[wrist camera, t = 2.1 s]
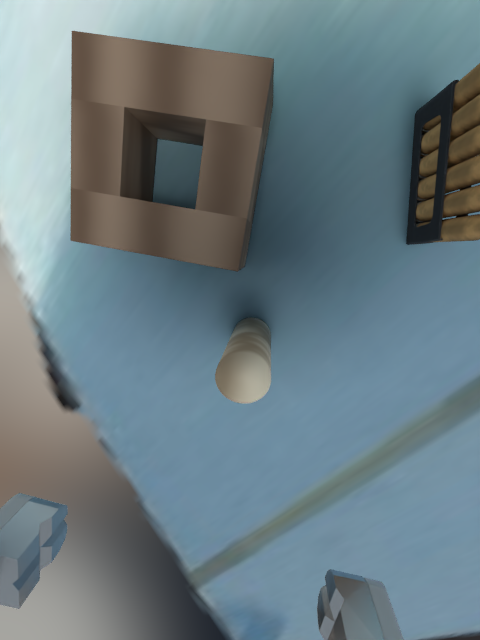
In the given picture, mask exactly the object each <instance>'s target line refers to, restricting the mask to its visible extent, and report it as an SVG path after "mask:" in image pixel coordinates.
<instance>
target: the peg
mask: <svg viewBox="0 0 480 640" xmlns="http://www.w3.org/2000/svg"><path fill="white" fill-rule="evenodd" d="M215 380H216V384H217V387H218V389H219V390H220V392H221V393H222V394H223V395H224V396H225V397H226V398H228V399H230V400H231V401H234V402H237V403H252V402H255V401H257V400H259V399H261V398H262V397H263V396H264V395H265V394H266V393H267V391H268V389H269V387H270V384H271V333H270V329H269V327H268V326H267V324H266V323H265V322H264V321H262V320H260V319H258V318H253V317H250V318H245V319H243V320H241V321H240V322H239V323H238V324H237V325H236V327H235V328H234V331H233V333H232V335H231V337H230V340H229V342H228V344H227V346H226V349H225V351H224V353H223V355H222V358H221V360H220V362H219V364H218V367H217V369H216V374H215Z"/></svg>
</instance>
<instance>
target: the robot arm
mask: <svg viewBox="0 0 480 640" xmlns="http://www.w3.org/2000/svg"><path fill="white" fill-rule="evenodd" d="M66 515H67V505H63V504H59V503H55V502H52V501H48V500H44V499H40V498H37V497H33V496H29V495H25V494H21V493H19V494H17V495H15V496H14V497H12V498H11V499H10V500H9V501H8V502H7V503H6V504H5V505H4V506H2V508H0V605H5V606H9V607H14V608H18V609H19V608H20V607H21V606H22V604H23V603H24V601H25V600H26V598H27V597H28V596H29V594H30V593H31V591H32V590H33V588H34V587H35V585H36V584H37V583H38V581H39V579H40V570H41V569H42V568H44V567H45V566H47V565H48V564H50V563H51V562H52V561H53V560H54V558H55V556H56V555H57V554H58V552H59V550H60V548H61V546H62V544H63V542H64V540H65V536H66V533H67V524H66V522H65V521H64V518H65V516H66ZM325 581H326V585H325V586H323V587H322V588H321V589H320V593H319V596H318V605H317V613H318V625H319V631H320V633H321V635H322V637H323V638H324V640H404V639H403V636H402V633H401V630H400V627H399V625H398V622H397V619H396V616H395V613H394V610H393V608H392V605H391V602H390V599H389V596H388V593H387V591H386V588H385V586H384V585H383V583H382V582H380V581H377V580H372V579H368V578H363V577H362V576H358V575H353V574H349V573H344V572H340V571H335V570H331V569H330V570H328V571H327V573H326V576H325Z"/></svg>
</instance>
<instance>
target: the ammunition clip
mask: <svg viewBox="0 0 480 640" xmlns="http://www.w3.org/2000/svg"><path fill="white" fill-rule="evenodd" d="M457 82H458V83H457ZM477 155H478V156H477ZM475 156H476V157H475ZM477 183H480V63H479V64H478V65H477V66H476V67H475V68H474V69H473V70H471V71H470V72H469V73H468V74H467V75H466V76H464V77H463V78H462V79H461V80H460V81H459V80H454V81H453V82H451V83H450V84H449V85H448V86H447V87H446V88H444V89H443V90H442V91H441V92H440V93H438V94H437V95H436V96H435V97H434V98H432V99H431V100H430V101H429V102H427V103H426V104H425V105H424V106H423V107H421V108H420V109H419V110H418V111H417V112H416V114H415V123H414V138H413V153H412V168H411V183H410V198H409V212H408V227H407V242H406V244H408V245H410V244H423V243H433V242H450V241H474V240H479V239H480V214H478V215H471V216H468V214H469V213H474V212H479V211H480V185H478V186H474V187H471V185H474V184H477ZM458 189H460V191H457V192H453V193H450V194H447V195H445V193H449V192H452V191H455V190H458ZM452 216H456V218H451V219H444V220H442V218H446V217H452Z"/></svg>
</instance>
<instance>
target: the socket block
mask: <svg viewBox="0 0 480 640" xmlns="http://www.w3.org/2000/svg"><path fill="white" fill-rule="evenodd" d="M273 74H274V59H272V58H265V57H258V56H251V55H243V54H236V53H229V52H222V51H214V50H207V49H200V48H193V47H185V46H178V45H171V44H164V43H156V42H149V41H142V40H135V39H127V38H120V37H113V36H106V35H98V34H91V33H84V32H77V31H72V95H71V241H76V242H81V243H87V244H92V245H98V246H103V247H108V248H114V249H119V250H125V251H130V252H135V253H141V254H146V255H152V256H157V257H163V258H168V259H173V260H179V261H184V262H190V263H195V264H200V265H206V266H211V267H217V268H222V269H228V270H233V271H239V270H241V269H242V268H243V267H245V263H246V257H247V251H248V245H249V240H250V234H251V228H252V222H253V216H254V211H255V205H256V199H257V193H258V188H259V182H260V176H261V170H262V165H263V159H264V153H265V147H266V142H267V136H268V130H269V124H270V119H271V113H272V107H273ZM157 138H158V139H164V140H170V141H176V142H183V143H189V144H195V145H202V146H203V149H202V157H201V166H200V174H199V183H198V191H197V199H196V208H195V209H189V208H184V207H178V206H172V205H166V204H161V203H155V202H152V199H153V187H154V174H155V161H156V149H157Z"/></svg>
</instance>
